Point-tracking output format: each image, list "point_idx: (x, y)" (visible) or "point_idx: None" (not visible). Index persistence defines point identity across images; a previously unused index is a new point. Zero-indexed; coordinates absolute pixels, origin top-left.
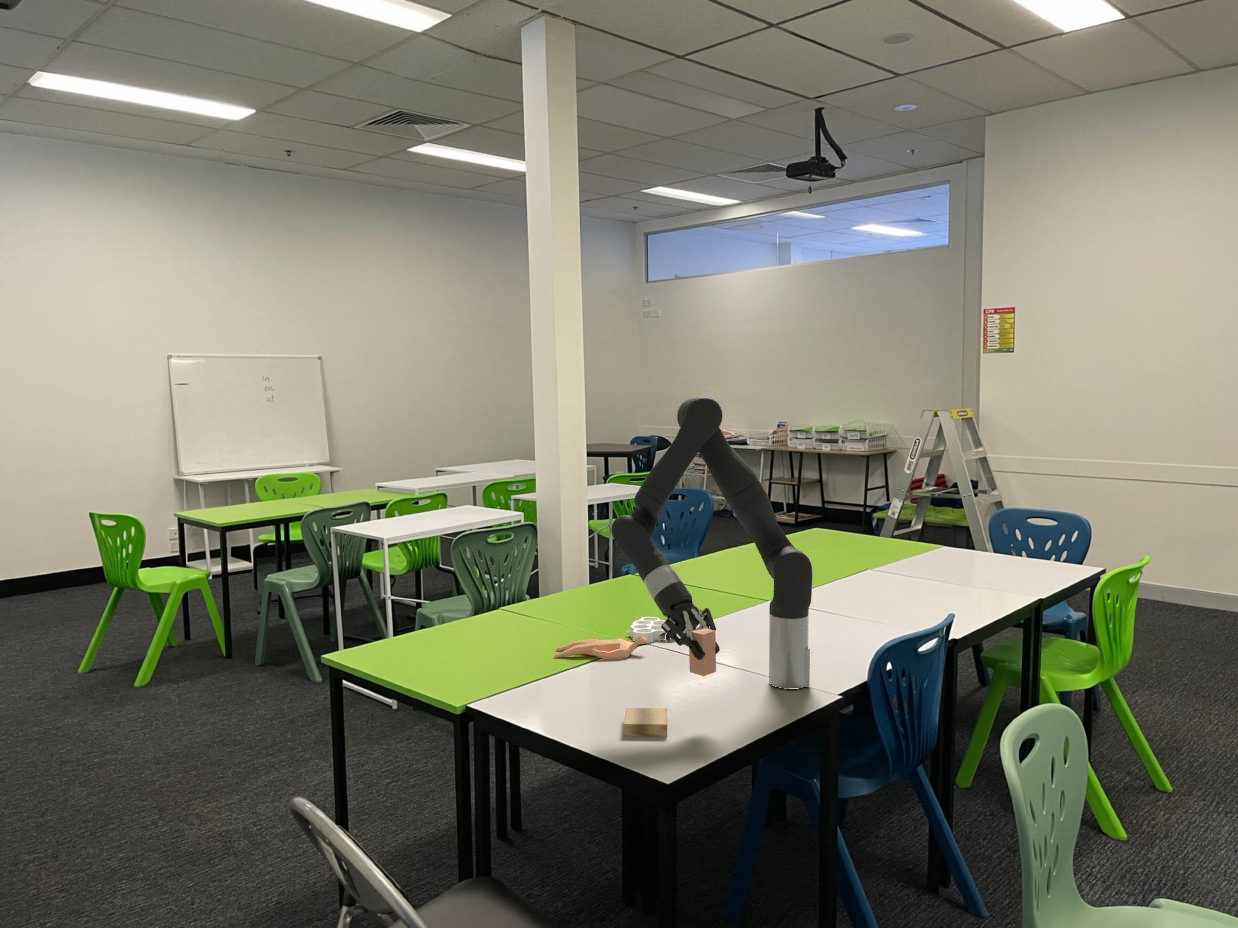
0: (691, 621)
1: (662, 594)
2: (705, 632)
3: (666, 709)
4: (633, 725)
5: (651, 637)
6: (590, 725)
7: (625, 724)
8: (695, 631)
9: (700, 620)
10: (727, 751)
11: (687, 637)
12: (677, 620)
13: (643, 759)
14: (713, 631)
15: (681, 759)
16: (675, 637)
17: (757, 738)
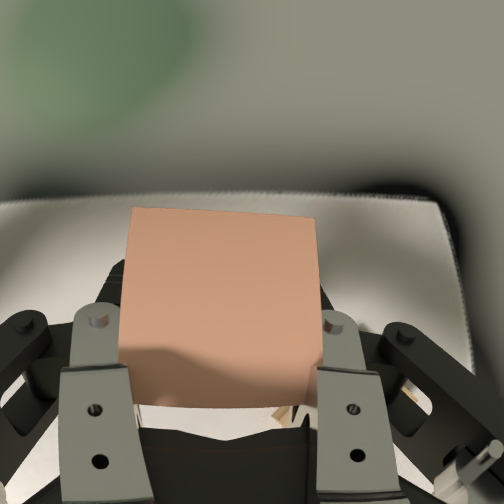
0: (240, 480)
1: None
2: (243, 241)
3: (286, 415)
4: (403, 386)
5: None
6: (408, 478)
7: (414, 397)
8: (289, 342)
9: (107, 419)
10: (296, 199)
11: (383, 333)
12: (442, 501)
13: (430, 286)
14: (159, 209)
15: (384, 239)
16: (413, 418)
17: (199, 193)
